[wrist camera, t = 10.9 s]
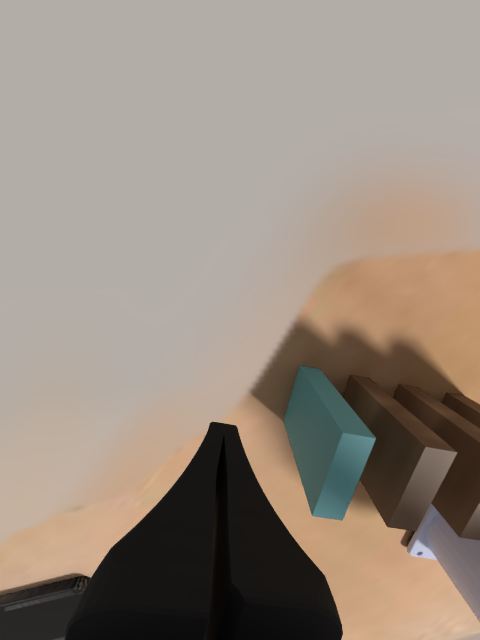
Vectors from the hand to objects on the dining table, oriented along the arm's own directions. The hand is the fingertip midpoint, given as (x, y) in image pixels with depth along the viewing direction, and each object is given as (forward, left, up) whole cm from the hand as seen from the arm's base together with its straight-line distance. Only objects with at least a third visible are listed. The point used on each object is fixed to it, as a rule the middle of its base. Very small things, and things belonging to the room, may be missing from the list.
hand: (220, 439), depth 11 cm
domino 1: (-10, 0, -6) cm, 12 cm away
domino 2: (-14, 0, -6) cm, 15 cm away
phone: (+14, +30, -6) cm, 34 cm away
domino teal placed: (-6, 0, -6) cm, 8 cm away
